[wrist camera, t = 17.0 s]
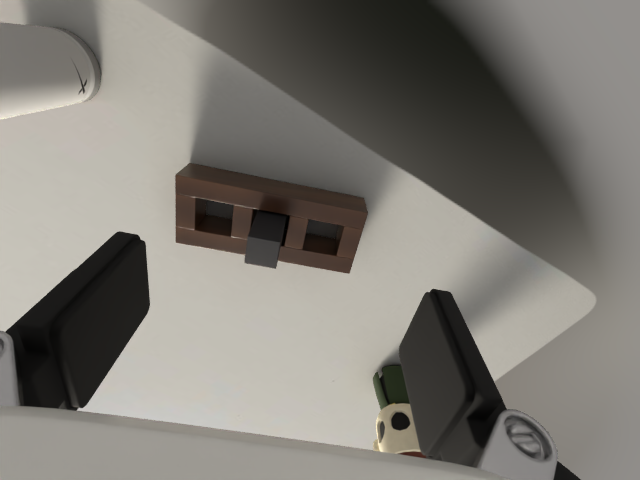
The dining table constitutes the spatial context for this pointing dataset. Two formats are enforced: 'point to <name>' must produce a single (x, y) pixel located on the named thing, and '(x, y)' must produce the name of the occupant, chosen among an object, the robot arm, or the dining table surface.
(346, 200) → the holder
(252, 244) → the peg
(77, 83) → the travel mug
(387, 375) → the character mug
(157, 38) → the dining table surface
